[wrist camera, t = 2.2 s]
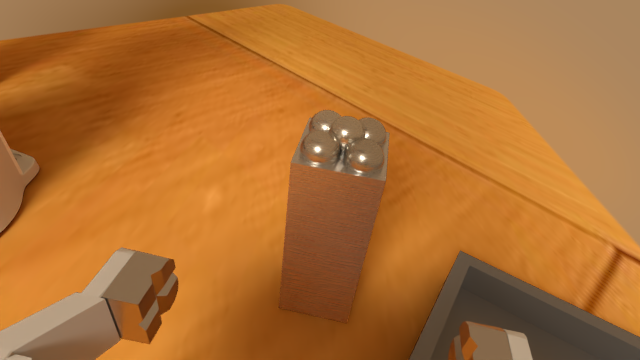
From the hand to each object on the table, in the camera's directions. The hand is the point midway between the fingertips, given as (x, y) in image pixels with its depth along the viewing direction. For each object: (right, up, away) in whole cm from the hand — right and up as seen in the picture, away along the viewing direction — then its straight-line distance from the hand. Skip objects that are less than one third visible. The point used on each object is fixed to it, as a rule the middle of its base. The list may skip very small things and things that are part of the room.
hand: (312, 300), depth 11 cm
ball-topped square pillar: (0, -5, +19) cm, 20 cm away
